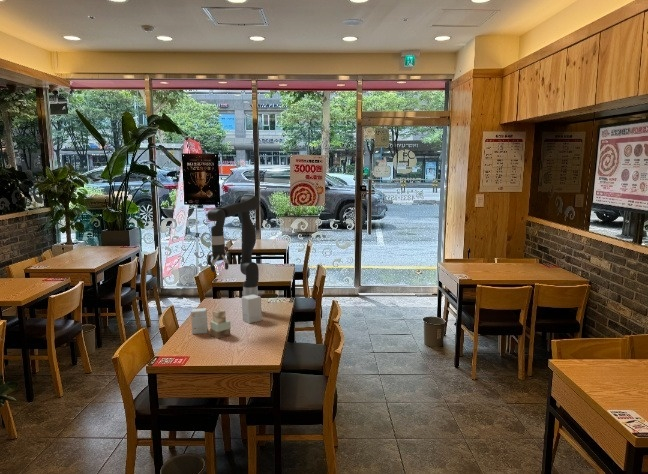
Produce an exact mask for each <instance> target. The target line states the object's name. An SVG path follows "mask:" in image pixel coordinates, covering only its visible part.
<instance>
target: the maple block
mask: <svg viewBox="0 0 648 474" xmlns="http://www.w3.org/2000/svg"><path fill="white" fill-rule="evenodd" d="M226 316H227V314H226V310H224V309H216V310H212V321H213V322H215V323H222V322H226V320H227V318H226Z"/></svg>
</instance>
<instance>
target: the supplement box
mask: <svg viewBox="0 0 648 474" xmlns="http://www.w3.org/2000/svg"><path fill="white" fill-rule="evenodd" d="M262 311H263V310H262V297H261V296H260V295H258V296H257V295H248V296H244V295H243V296H241V313H242V321H243V322H246V323H248V324H251V323H252V324H253V323H257V322H262V321H263V319H262V318H263V315H262Z"/></svg>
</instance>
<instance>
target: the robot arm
mask: <svg viewBox="0 0 648 474" xmlns="http://www.w3.org/2000/svg"><path fill="white" fill-rule="evenodd" d="M260 206H261V204H260V198H259V197H257V196H255V195H243V196H242V197H241V198H240V202H235V203H230V204H226V205H224V206H221V207H220V206H219V207H214V208H211V209H209V210H208V212H207V214H206V217H207V219H208V220H209V221H210V222H215V225H212V226H211V227H210V232H211V233H210V234H211V235H210V236H211V238H210V239H211V241H210V242H211V252H212V253H211V254H207V256H206V264H207V265H208V266H210V271H211V272H212V273H215V272H216V270H215V264H216V263H217V262H219V261H223V262H224V270H229V263H231V261H232V256H231V252H230V251H226V242H225V236H224V235H225V234H224V227H225V221H226V218H227V219H228V218H231V217H233V216H236V215H239V214H240V216H241V257H240V266H239V267H240V268H239V269H240V272H241V274H242V275H244V276H245V281H243V283H242V291H243V296H248V295H257V296H259V289H258V284H259V279H260V278H259V275H260V274H259V273H260V271H259V266H258V264H257V263H256V262H254V261H253V257H252V256H253V251H254V248H255V246H256V243H257V231H256V227H255V225H254V223H253V222H252V219H251V212H250V211H257V210H258V209H259V207H260Z"/></svg>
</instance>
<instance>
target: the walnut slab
mask: <svg viewBox="0 0 648 474" xmlns="http://www.w3.org/2000/svg"><path fill="white" fill-rule="evenodd" d="M209 329H210V330H209V331H210V336H212V337H213V338H216V339H221V338H225V337H229V336H231V329H227V330H223V331H219V332H217V331H215V330H213V329H211V327H210V328H209Z"/></svg>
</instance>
